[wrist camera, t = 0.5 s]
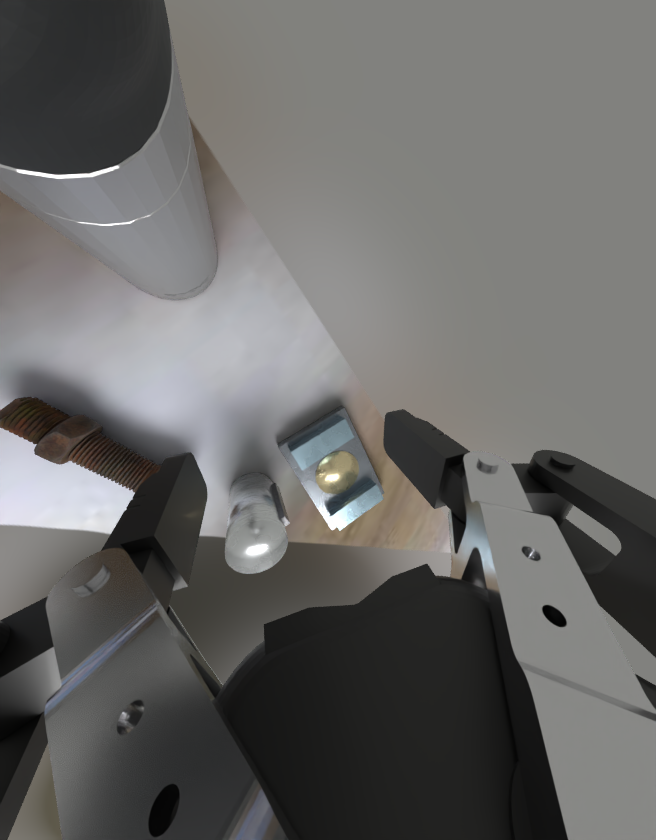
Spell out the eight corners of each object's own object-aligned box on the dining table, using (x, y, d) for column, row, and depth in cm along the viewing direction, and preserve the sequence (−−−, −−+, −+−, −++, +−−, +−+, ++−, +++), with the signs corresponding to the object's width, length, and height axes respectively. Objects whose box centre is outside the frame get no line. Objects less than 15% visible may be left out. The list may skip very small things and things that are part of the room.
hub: (220, 489, 29) (211, 547, 20) (264, 462, 30) (274, 506, 21) (245, 519, 31) (247, 584, 22) (285, 493, 32) (302, 544, 23)
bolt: (52, 396, 23) (191, 474, 29) (-3, 437, 21) (160, 513, 26) (28, 376, 19) (198, 473, 24) (-46, 425, 16) (162, 521, 22)
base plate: (277, 444, 30) (280, 452, 28) (341, 405, 32) (349, 409, 30) (329, 525, 36) (335, 537, 34) (380, 489, 38) (390, 498, 36)
